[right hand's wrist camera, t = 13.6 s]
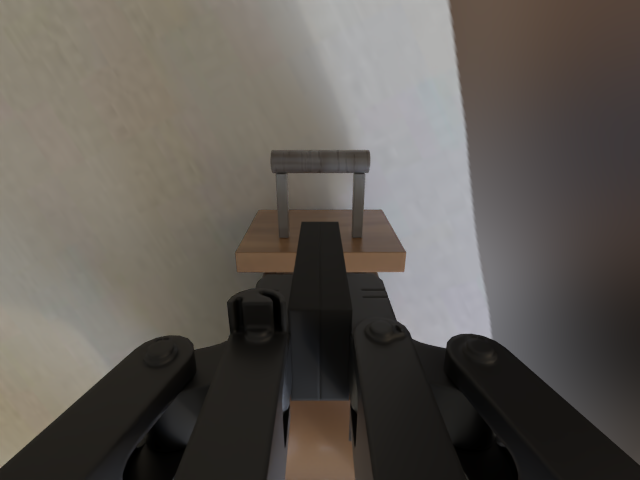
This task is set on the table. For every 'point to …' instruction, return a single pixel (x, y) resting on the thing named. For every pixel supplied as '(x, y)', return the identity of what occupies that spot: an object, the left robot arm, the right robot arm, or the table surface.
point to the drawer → (320, 220)
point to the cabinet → (319, 441)
